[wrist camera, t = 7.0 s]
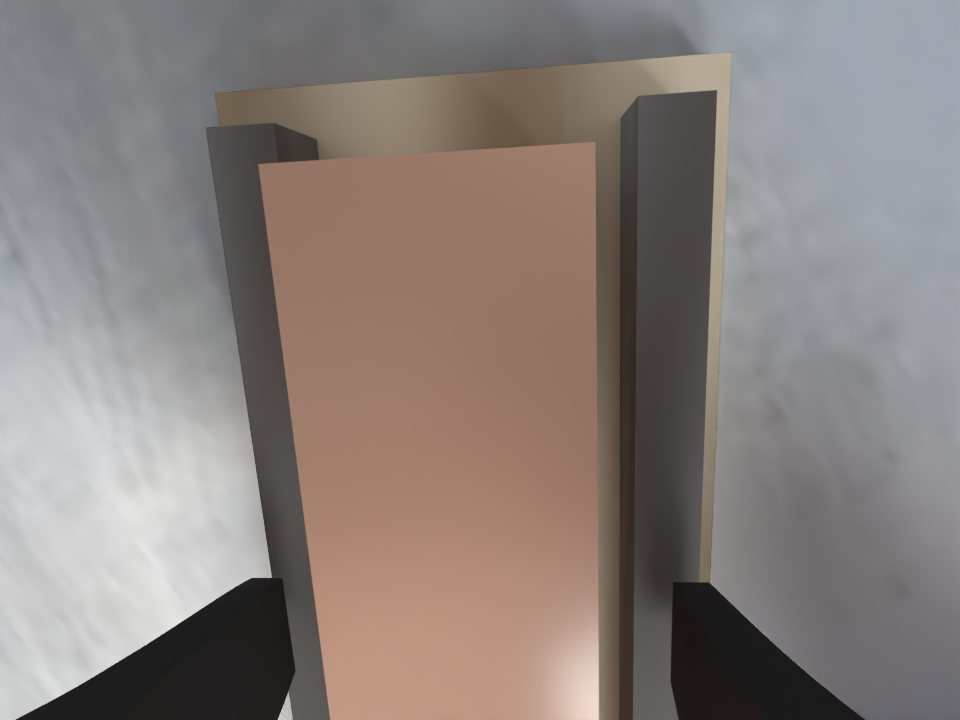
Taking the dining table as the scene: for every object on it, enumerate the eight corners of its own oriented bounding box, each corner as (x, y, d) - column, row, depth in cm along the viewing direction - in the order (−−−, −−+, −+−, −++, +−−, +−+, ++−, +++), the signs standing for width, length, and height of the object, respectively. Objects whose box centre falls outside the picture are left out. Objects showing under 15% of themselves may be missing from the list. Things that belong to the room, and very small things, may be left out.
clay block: (570, 175, 11) (595, 141, 7) (580, 824, 15) (601, 1109, 10) (371, 187, 12) (258, 164, 7) (427, 816, 15) (378, 1087, 11)
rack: (713, 68, 12) (775, 13, 9) (685, 843, 16) (720, 988, 13) (244, 104, 13) (151, 67, 10) (339, 825, 17) (296, 955, 14)
